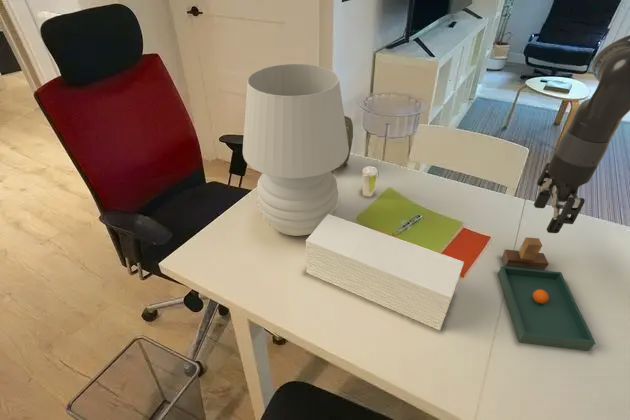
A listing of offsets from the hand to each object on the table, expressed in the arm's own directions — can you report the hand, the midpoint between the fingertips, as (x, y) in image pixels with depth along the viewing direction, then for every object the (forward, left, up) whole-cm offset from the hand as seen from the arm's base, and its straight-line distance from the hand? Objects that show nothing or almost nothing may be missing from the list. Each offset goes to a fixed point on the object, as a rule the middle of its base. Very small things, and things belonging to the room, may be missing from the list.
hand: (544, 219), depth 82 cm
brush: (0, 0, -15) cm, 15 cm away
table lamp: (+57, -8, -15) cm, 59 cm away
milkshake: (+38, -24, -15) cm, 47 cm away
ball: (0, +11, -13) cm, 17 cm away
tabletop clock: (+52, -36, -15) cm, 65 cm away
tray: (0, +13, -15) cm, 20 cm away
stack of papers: (+35, +11, -15) cm, 39 cm away
